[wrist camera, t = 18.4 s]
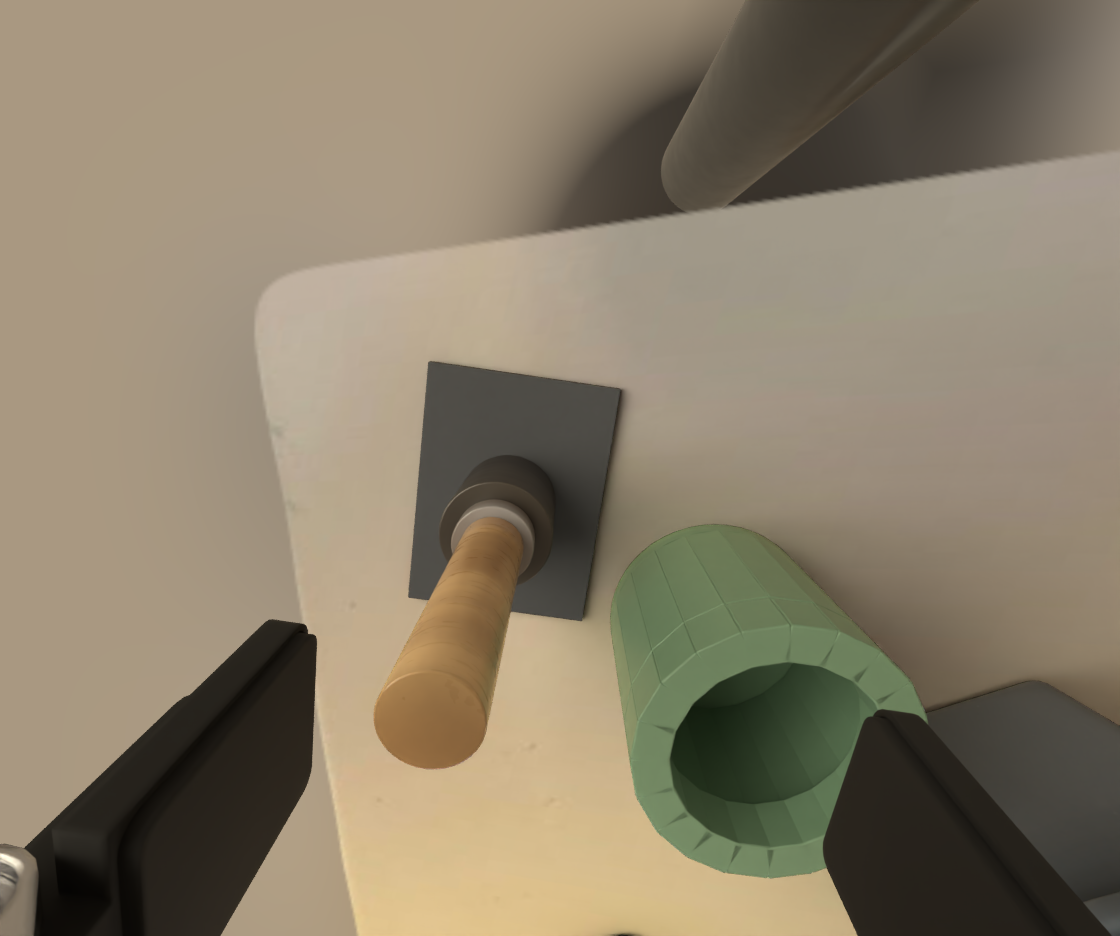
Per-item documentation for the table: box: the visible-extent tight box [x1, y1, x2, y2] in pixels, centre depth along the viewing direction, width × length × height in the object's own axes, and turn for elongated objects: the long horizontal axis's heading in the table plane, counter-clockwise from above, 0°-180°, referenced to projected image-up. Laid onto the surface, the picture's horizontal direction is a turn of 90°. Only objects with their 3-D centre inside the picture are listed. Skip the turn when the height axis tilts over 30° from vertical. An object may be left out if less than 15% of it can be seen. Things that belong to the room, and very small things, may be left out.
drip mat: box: [408, 361, 621, 621], centre depth 27 cm, size 12×9×1 cm
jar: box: [610, 525, 928, 878], centre depth 24 cm, size 10×10×10 cm
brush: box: [374, 455, 556, 769], centre depth 20 cm, size 5×5×16 cm
